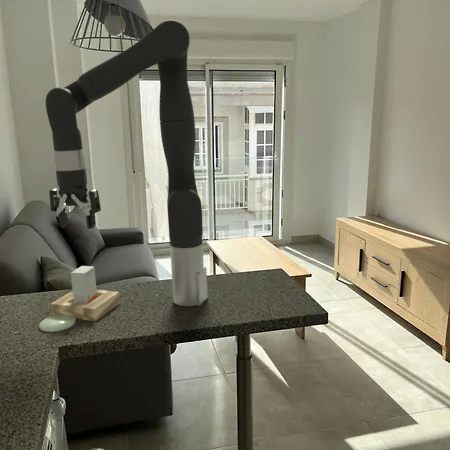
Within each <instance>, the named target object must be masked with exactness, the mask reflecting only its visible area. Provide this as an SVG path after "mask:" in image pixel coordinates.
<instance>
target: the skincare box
mask: <svg viewBox="0 0 450 450" xmlns="http://www.w3.org/2000/svg"><path fill="white" fill-rule="evenodd" d="M95 270H96V269H95V266H89V265H81V266H79V267H78V268H76V269H74V270H73V271H72V272H70V280H71V289H72V291H73V298H74V304H82V305H87V304H89V303H90V302H92V301H93V300H95V299H96V298H97V290H98V289H97V281H96V279H97V278H96V272H95Z"/></svg>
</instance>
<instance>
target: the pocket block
mask: <svg viewBox="0 0 450 450" xmlns="http://www.w3.org/2000/svg"><path fill="white" fill-rule="evenodd" d="M120 300H121V299H120V291H114V290H113V291H112V290H104V289H97V298H96V299H95V300H93V301H92V302H90V303H89V304H87V305H82V304H74V298H73V290H72V291H70V292H68V293H66V294H65V295H63V296H62V297H60V298H57V300H54V301H53V302H51V303H50V306H51V307H50V308H51V312H52V316H55V315H68V316H74V317H75V319H77V320H85V321H90V322H97V321H98V320H99V319H101V318H102V317H104V316H105V315H106V314H107V313H109V312H110V311H111V310H113V309H115V307H118V305H119V304H120V303H121V301H120Z"/></svg>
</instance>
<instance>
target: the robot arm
mask: <svg viewBox="0 0 450 450" xmlns="http://www.w3.org/2000/svg"><path fill="white" fill-rule="evenodd" d="M190 42H191V41H190V33H189V31H188V29H187V27H186V26H185V25H184V24H183V23H182V22H180V21H178V20H176V19H175V20H174V19H167V20H163V21H162V22H160V23H159V24H157V26H155V28H153V29H152V30H151V31H150V32H148V33H147V34H145V36H144V37H143V38H141V39H139V41H137V42H135V44H133V45H132V46H129V47H128V48H127V49H125V50H124V51H122V52H120V53H118V54H116V55H114V56H112V57H111V58H109V59H107V60H105V61H103V62H102V63H99V64H98V65H96V66H94V67H92V68H90V69H89V70H87V71H85V72H84V73H82V74H81V75H80V76H79V77H78V79H77V80H75V81H73V82H72V83H69V84H68V85H67V86H64V87H53V88H52V89H50V90H49V91H48V93H47V94H46V96H45V110H46V115H47V119H48V122H49V125H50V129H51V134H52V143H53V150H54V151H53V153H54V155H53V157H54V158H53V159H54V167H55V168H54V169H55V176H56V184H57V187H59V188H52V189H50V190H49V191H48V194H49V203H50V204H49V205H50V211H51V212H55V213H56V214H57V216H58V221H59V222H58V223H59V226H60V227H61V228H66V227H69V222H68V213H67V212H66V211H67V210H68V208H69V207H72V206H73V207H79V209H81V210H82V211H83V212H84V214H85V219H86V226H87V227H86V228H87V229H89V230H91V229H93V228H95V227H96V224H97V223H96V216H95V215H96V214H97V213H100V212H101V210H102V208H101V200H100V195H99V190H98V189H92V190H89V189H88V188H87V186H88V178H87V169H86V159H85V155H84V149H83V141H82V140H83V139H82V133H81V131H80V129H79V127H78V122H77V120H78V119H77V114H78V113H80V112H81V111H83V110H84V109H86V108H87V107H88V106H90V105H91V104H93V102H95V101H98V100H100V99H102V98H104V97H105V96H108V95H109V94H111V93H113V92H114V91H116V90H118V89H119V88H121V87H122V86H124V85H125V84H126V83H128V82H129V81H130V80H132V79H133V78H135V77H136V76H137V75H139V74H140V73H142V72H143V71H145V70H147V69H149V68H151V67H153V66H155V65H157V67H158V75H159V86H160V87H159V104H158V106H159V107H158V108H159V110H158V111H159V125H160V127H159V128H160V138H161V143H162V148H163V149H162V150H163V154H164V158H165V162H166V167H167V174H168V175H167V177H168V178H167V183H168V184H167V190H168V191H167V201H166V202H167V203H166V204H167V205H166V206H167V220H168V237H169V250H170V263H171V264H170V265H171V267H170V268H171V278H172V280H171V281H172V296H173V298H172V299H173V303H174V304H175V305H177V306H180V307H195V306H198V307H199V306H201V305H202V304H204V302H205V301H206V300H207V299H208V298H209V297H208V279H207V278H208V276H207V267H205V266H204V265H205V264H204V247H203V245H204V244H203V236H204V231H203V230H204V227H203V207H202V201H201V198H200V195H199V192H198V188H197V183H196V182H197V181H196V176H195V155H196V122H195V113H194V111H195V110H194V105H193V101H192V96H191V92H190V87H189V82H188V52H189V48H190ZM60 198H61V199H60Z"/></svg>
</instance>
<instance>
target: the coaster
mask: <svg viewBox="0 0 450 450" xmlns="http://www.w3.org/2000/svg"><path fill="white" fill-rule="evenodd" d="M75 324H76V319H75V317H74V316H68V315H55V316H54V315H52V316H49V317H46V318H44V319H43V320H42V321H41V322H39V325H38V326H39V330H40V331H42V332H45V333H55V332H56V333H57V332H60V331H61V332H62V331H64V330H68V329H69V328H72V327H73V326H74V325H75Z"/></svg>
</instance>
